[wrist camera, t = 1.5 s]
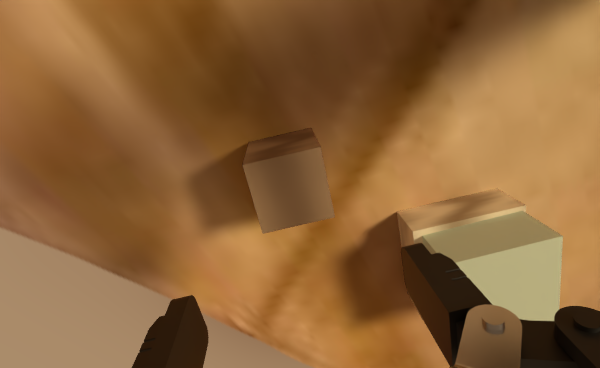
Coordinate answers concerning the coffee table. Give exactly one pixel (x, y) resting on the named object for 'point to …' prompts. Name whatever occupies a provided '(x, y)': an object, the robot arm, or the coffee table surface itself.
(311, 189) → the walnut block
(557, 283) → the tower top
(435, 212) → the block
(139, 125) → the coffee table surface
